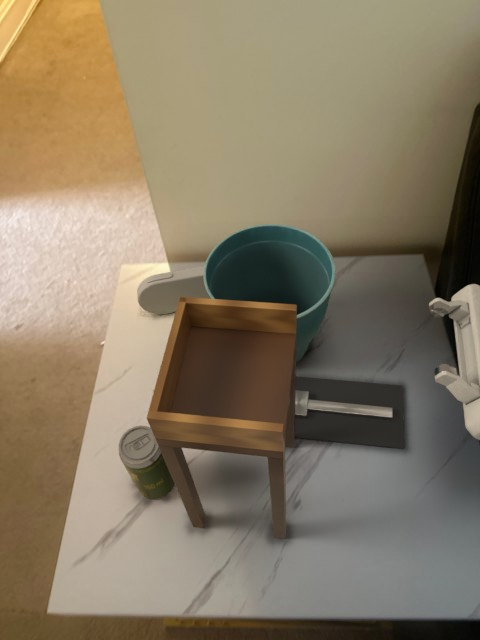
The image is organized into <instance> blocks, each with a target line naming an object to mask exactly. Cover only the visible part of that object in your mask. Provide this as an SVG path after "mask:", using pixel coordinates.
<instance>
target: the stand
mask: <svg viewBox="0 0 480 640" xmlns="http://www.w3.org/2000/svg"><path fill="white" fill-rule="evenodd" d="M296 331H297V305H294V304H280V303H265V302H251V301H236V300H222V299H207V298H192V297H180V298H179V301H178V305H177V309H176V311H175V312H174V316H173V321H172V324H171V328H170V331H169V334H168V338H167V341H166V346H165V349H164V353H163V356H162V360H161V364H160V368H159V372H158V374H157V377H156V382H155V386H154V389H153V394H152V397H151V401H150V403H149V404H150V405H149V407H148V412H147V415H146V420H147V422H148V423H147V424H148V425H149V427H150V428H151V430H152V432H153V434H154V437H155V439H156V441H157V444H158V446H159V448H160V451H161V453H162V455H163V458H164V460H165V462H166V465H167V467H168V469H169V472H170V474H171V476H172V479H173V481H174V483H175V485H174V487H175V488H176V490H177V493H178V495H179V498H180V500H181V502H182V504H183V507H184V509H185V511H186V514H187V516H188V518H189V520H190V523H191V525H192V527H193V528H197V529H205V527H206V521H207V515H206V513H205V509H204V506H203V503H202V501H201V498H200V495H199V493H198V490H197V487H196V485H195V481H194V479H193V476H192V473H191V470H190V467H189V465H188V462H187V459H186V456H185V453H184V451H183V449H189V450H199V451H208V452H215V453H225V454H236V455H244V456H245V455H246V456H254V457H263V458H267V469H268V480H269V481H268V483H269V494H270V507H271V520H272V533H273V538H275V539H282V540H286V536H287V484H286V483H287V482H286V481H287V480H286V479H287V477H286V448H295V442H296V438H295V400H296V376H297V362H296Z"/></svg>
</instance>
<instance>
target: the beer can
mask: <svg viewBox="0 0 480 640" xmlns="http://www.w3.org/2000/svg"><path fill="white" fill-rule="evenodd" d="M118 456H119V459H120V461H121V463H122V464H123V466H124V468H125V470H126V472H127V474H128V475H129V476H130V478H131V480H132V482H133V483H134V485H135V487H136V489H137V490H138V492H139V493H140V494H141V496H142V497H144V498H146V499H148V500H160V499H163V498H164V497H167V496H168V495H169V494H170V493H171V492H172V491H173V489H174V487H175V483H174V481H173V479H172V476H171V474H170V472H169V469H168V467H167V465H166V462H165V460H164V458H163V455H162V453H161V451H160V448H159V446H158V444H157V441H156V439H155V437H154V434H153V432H152V430H151V427H150V426H147V425H142V424H141V425H136V426H133V427H130V428H129V429H127V430H126V431H125V432H124V433H123V434H122V435H121V437H120V438H119V442H118Z"/></svg>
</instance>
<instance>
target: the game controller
mask: <svg viewBox="0 0 480 640" xmlns="http://www.w3.org/2000/svg"><path fill="white" fill-rule="evenodd" d="M204 266H205V265H202V266H196V267H191V268H185V269H179V270H173V271H168V272H161V273H157V274H153V275H150V276H148V277H146V278H144V279H143V280H142V281H141V282H140V283H139V284H138V287H137V288H136V289H137V290H136V294H137V295H136V296H137V303H138V305H139V306H140V308H141V309H142V310H144V311H145V312H147V313H150V314H154V315H169V314H172V313H175V312H176V309H177V305H178V301H179V298H180V297H192V298H207V299H210V297H209V295H208V293H207V291H206V288H205V284H204V278H203V273H204Z"/></svg>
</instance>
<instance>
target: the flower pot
mask: <svg viewBox="0 0 480 640" xmlns="http://www.w3.org/2000/svg"><path fill="white" fill-rule="evenodd" d="M203 266H204V273H203V278H204V284H205V288H206V291H207V293H208V295H209V297H210V299H222V300H236V301H251V302H265V303H280V304H294V305H297V331H296V363H298V362H299V361H300V360H301V359H302V358H303V357H304V355H305V354H306V353H307V351H308V348H309V345H310V343H311V341H313V339H314V338H315V337H316V335H317V334H318V332H319V330H320V329H321V327H322V325H323V322H324V319H325V316H326V313H327V310H328V305H329V301H330V298H331V295H332V292H333V290H334V286H335V283H336V276H337V270H336V269H337V268H336V262H335V260H334V257H333V255H332V253H331V251H330V249H329V248H328V247H327V245H325V243H324V242H322V240H320V238H318V237H317V236H315V235H314V234H312V233H310V232H308V231H306V230H304V229H301V228H299V227H296V226H292V225H287V224H279V223H264V224H256V225H251V226H248V227H245V228H242V229H239V230H236V231H234V232H232V233H231V234H229V235H227V236H226V237H225V238H223V239H222V240H221V241H219V242H218V243H217V244H216V245H215V246H214V247H213V249H212V250H211V251H210V253H209V255H208V256H207V258H206V260H205V262H204V265H203Z"/></svg>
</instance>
